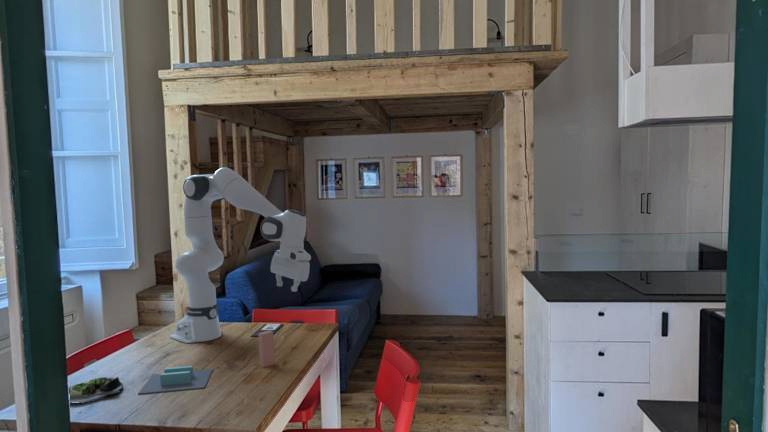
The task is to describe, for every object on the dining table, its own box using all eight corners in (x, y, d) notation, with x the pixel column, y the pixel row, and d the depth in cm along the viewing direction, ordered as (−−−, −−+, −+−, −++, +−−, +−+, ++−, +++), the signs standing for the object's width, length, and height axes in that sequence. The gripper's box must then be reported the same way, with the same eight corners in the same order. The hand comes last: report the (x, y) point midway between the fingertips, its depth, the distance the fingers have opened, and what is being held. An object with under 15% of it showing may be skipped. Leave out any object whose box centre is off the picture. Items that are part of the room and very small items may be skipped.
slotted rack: (160, 385, 158) (160, 375, 158) (165, 378, 164) (165, 368, 164) (189, 382, 160) (189, 372, 159) (193, 375, 166) (193, 365, 166)
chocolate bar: (250, 335, 210) (264, 324, 228) (250, 337, 210) (264, 326, 228) (270, 335, 209) (283, 324, 227) (270, 338, 209) (283, 326, 227)
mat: (138, 394, 152) (138, 393, 152) (152, 375, 168) (152, 374, 168) (204, 388, 156) (204, 387, 156) (212, 370, 172) (212, 369, 172)
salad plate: (56, 415, 140) (55, 399, 140) (46, 397, 153) (45, 382, 153) (129, 394, 153) (128, 380, 153) (113, 379, 166) (113, 366, 166)
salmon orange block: (270, 362, 178) (269, 330, 177) (274, 364, 176) (273, 331, 176) (259, 365, 175) (258, 333, 174) (263, 367, 173) (262, 334, 172)
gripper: (268, 248, 188) (264, 283, 188) (300, 256, 174) (295, 294, 174) (282, 248, 193) (277, 283, 193) (314, 257, 179) (309, 293, 179)
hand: (286, 288), depth 184 cm, fingers open, 8 cm apart
